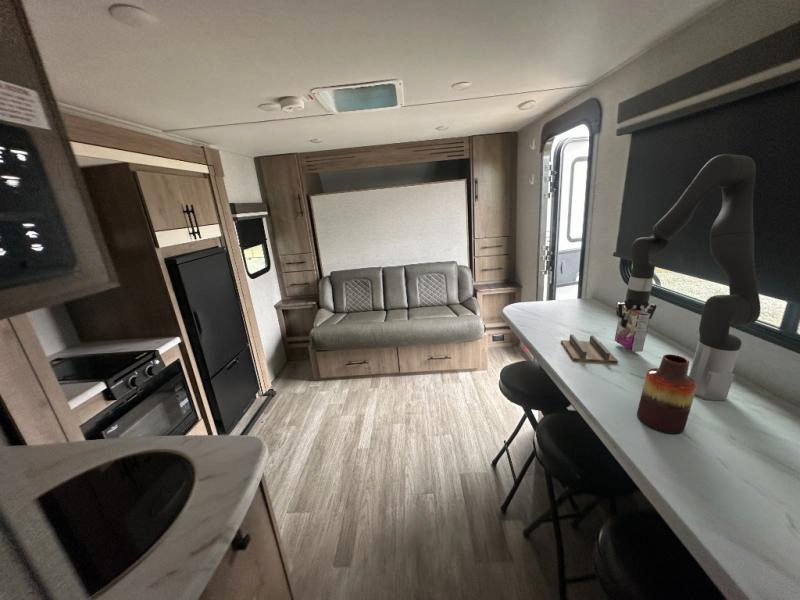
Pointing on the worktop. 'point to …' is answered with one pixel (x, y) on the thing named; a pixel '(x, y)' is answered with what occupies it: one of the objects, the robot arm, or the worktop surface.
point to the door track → (588, 350)
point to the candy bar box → (633, 330)
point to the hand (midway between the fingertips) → (631, 327)
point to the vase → (667, 396)
